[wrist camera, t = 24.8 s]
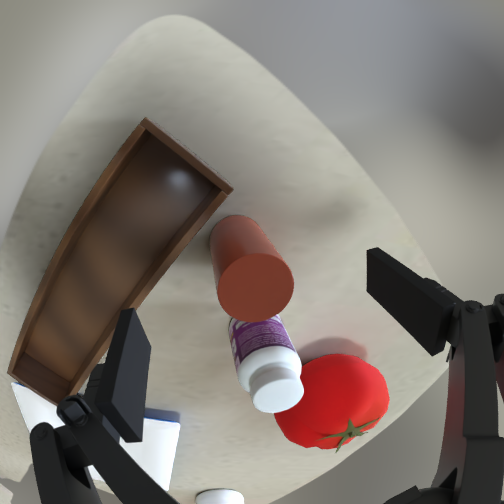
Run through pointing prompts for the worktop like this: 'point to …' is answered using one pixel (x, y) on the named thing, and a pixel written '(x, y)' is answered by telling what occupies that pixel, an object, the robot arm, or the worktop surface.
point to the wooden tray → (113, 257)
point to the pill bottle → (266, 363)
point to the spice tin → (248, 271)
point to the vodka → (220, 497)
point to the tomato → (335, 402)
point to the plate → (144, 453)
